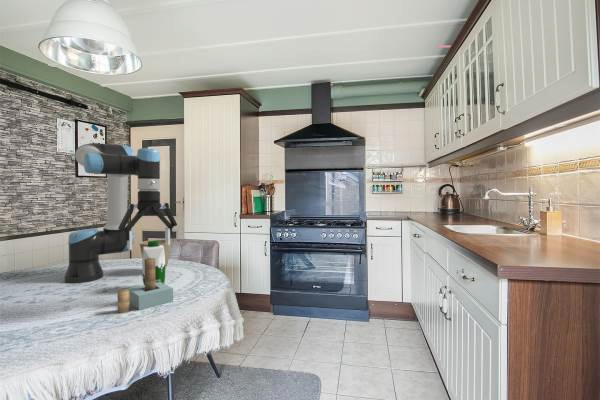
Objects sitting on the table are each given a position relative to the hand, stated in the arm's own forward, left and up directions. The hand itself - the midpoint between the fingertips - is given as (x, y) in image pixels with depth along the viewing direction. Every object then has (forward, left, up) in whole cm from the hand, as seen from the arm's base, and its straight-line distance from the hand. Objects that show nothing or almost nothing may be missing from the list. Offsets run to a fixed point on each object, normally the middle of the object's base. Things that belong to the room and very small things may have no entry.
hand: (149, 246), depth 115 cm
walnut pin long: (0, 0, -21) cm, 21 cm away
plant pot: (-41, +18, -21) cm, 49 cm away
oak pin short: (+3, -10, -21) cm, 23 cm away
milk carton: (-15, +7, -21) cm, 26 cm away
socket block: (0, 0, -21) cm, 21 cm away
